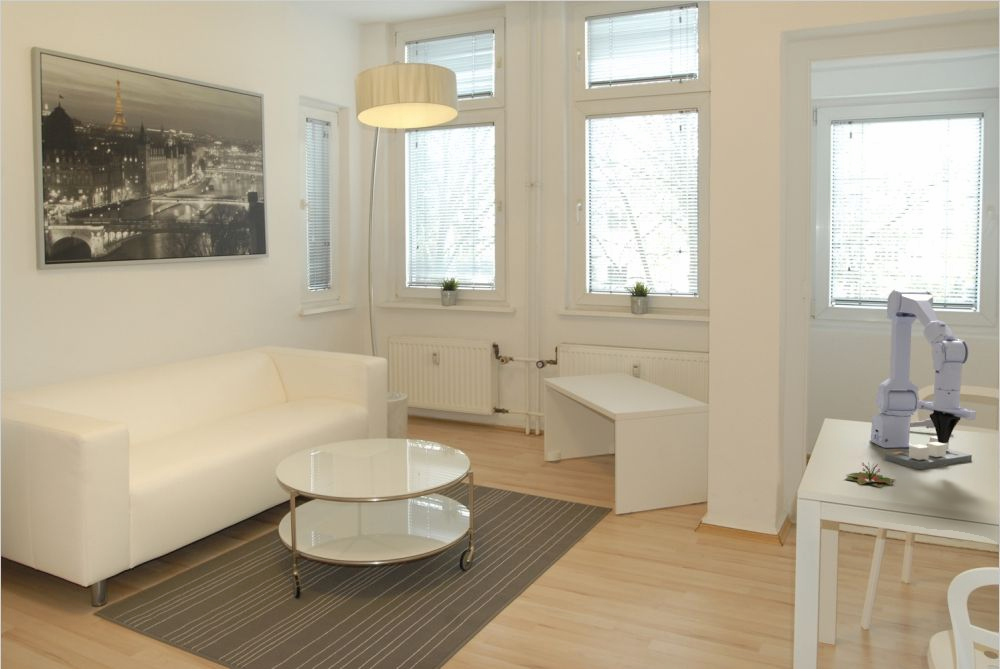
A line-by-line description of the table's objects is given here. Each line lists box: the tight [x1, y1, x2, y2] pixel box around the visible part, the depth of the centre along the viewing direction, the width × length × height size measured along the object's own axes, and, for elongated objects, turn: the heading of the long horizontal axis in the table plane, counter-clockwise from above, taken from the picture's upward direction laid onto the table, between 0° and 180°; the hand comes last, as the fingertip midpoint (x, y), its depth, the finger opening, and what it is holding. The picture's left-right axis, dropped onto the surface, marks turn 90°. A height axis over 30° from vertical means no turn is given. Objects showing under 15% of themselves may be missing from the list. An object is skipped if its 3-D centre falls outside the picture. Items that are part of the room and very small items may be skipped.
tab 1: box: [929, 435, 950, 449], centre depth 223 cm, size 4×3×3 cm
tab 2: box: [926, 441, 947, 457], centre depth 217 cm, size 4×3×3 cm
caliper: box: [910, 418, 935, 429], centre depth 251 cm, size 20×1×6 cm, turn 72°
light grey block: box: [908, 443, 929, 460], centre depth 214 cm, size 4×3×3 cm
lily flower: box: [845, 462, 895, 488], centre depth 201 cm, size 12×12×5 cm
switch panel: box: [885, 448, 973, 470], centre depth 219 cm, size 20×10×2 cm, turn 115°
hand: (943, 442), depth 208 cm, fingers closed
